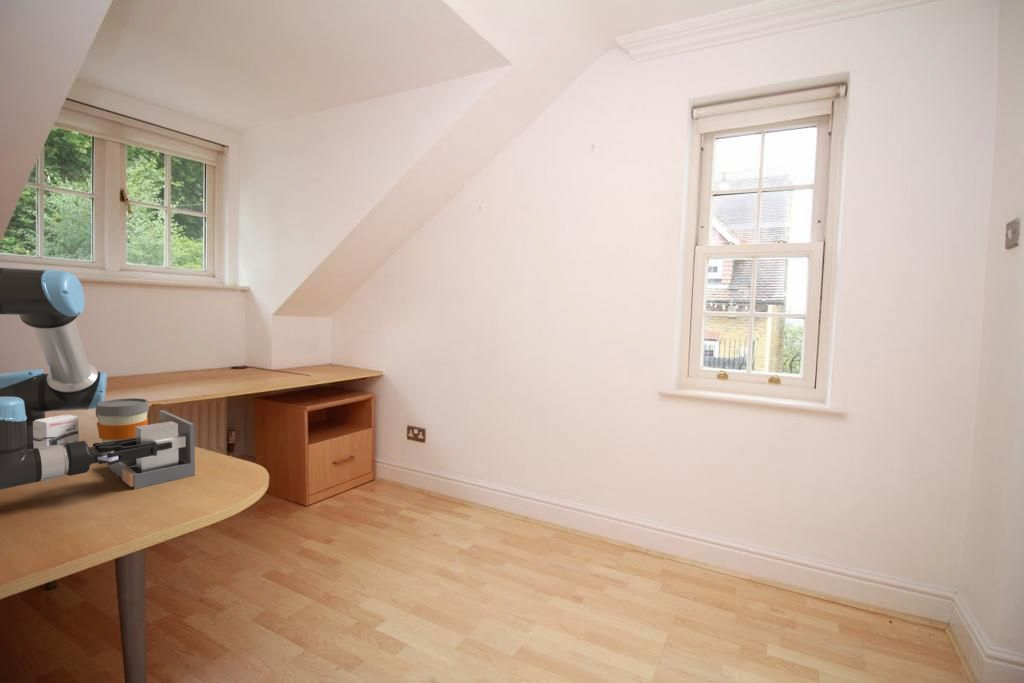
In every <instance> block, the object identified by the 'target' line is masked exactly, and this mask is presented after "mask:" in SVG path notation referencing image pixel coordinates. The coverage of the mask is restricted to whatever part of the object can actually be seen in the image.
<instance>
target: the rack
mask: <svg viewBox="0 0 1024 683" xmlns="http://www.w3.org/2000/svg"><path fill="white" fill-rule="evenodd" d="M158 416H159V418H158V420H159V422H158V423H163V422H170V421H173V422H175V423H177V424H178V433H179V437H183V436H185V437H186V447H181V448H178V460H179V465H176V466H172V467H167V468H162V469H158V470H153V471H148V472H143V473H139V474H138V473H137V469H136V459H133V460H128V461H123V462H119V463H115V464H112V465H108V464H107V468H108V467H109V468H110V469H111V470H112V471H111V470H110V469H109V468H108V469H109V470H110V471H111V472H113V473H114V472H115V473H116V474H117V475H116V474H115V473H114V474H115V475H116V476H118V477H119V476H120V477H121V478H122V479H121V478H120V477H119V478H120V479H121V480H122V482H124V483H125V484H126V485H128V486H129V487H130V488H133V489H134V490H137V489H136V488H138V489H141V488H140V487H142V488H146V486H147V487H150V485H151V486H155V485H159V484H163V483H167V482H172V481H176V479H177V480H181V479H184V478H185V479H186V478H189V477H188V476H190V477H193V475H194V476H196V460H195V459H196V458H195V457H196V455H195V454H196V453H195V452H196V451H195V450H196V449H195V448H196V447H195V446H196V445H195V443H196V442H195V423H193V422H191V421H189V420H187V419H185V418H182V417H180V416H177V415H175V414H173V413H170V412H169V411H167V410H164V409H161V410H158Z"/></svg>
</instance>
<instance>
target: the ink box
mask: <svg viewBox="0 0 1024 683" xmlns="http://www.w3.org/2000/svg"><path fill="white" fill-rule="evenodd" d="M79 437H80V435H79V416H78V415H73V414H61V415H56V416H55V415H54V416H50V417H45V418H43V419H38V420H35V421H33V445H34V448H40V447H46V446H52V445H58V444H60V445H62V446H64V445H65V444H66V443H72V442H79V441H80V438H79Z"/></svg>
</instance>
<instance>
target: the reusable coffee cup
mask: <svg viewBox="0 0 1024 683" xmlns="http://www.w3.org/2000/svg"><path fill="white" fill-rule="evenodd" d="M149 411H150V406H149V400H148V399H146V398H133V397H132V398H131V397H129V398H118V399H117V398H116V399H109V400H108V399H107V400H104V401H103V402H99V403H97V405H96V408H95V415H96V416H97V422H96V426H97V433H98V437H99V439H101V443H102V442H110V441H116V440H123V439H129V438H136V426H143V425H148V422H149V417H148V412H149Z"/></svg>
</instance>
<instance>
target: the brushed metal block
mask: <svg viewBox="0 0 1024 683" xmlns="http://www.w3.org/2000/svg"><path fill="white" fill-rule="evenodd" d="M177 437H178V424H177V423H175V422H173V421H170V422H163V423H159V422H157V423H151V424H147V425H143V426H136V445H140V444H148V443H154V442H155V441H159V440H165V439H171V438H177ZM176 465H179V460H178V448H176V449H171V450H165V451H160V452H157V456H148V457H143V458H138V459H136V469H137V473H138V474H139V473H143V472H148V471H153V470H158V469H162V468H167V467H172V466H176Z"/></svg>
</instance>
